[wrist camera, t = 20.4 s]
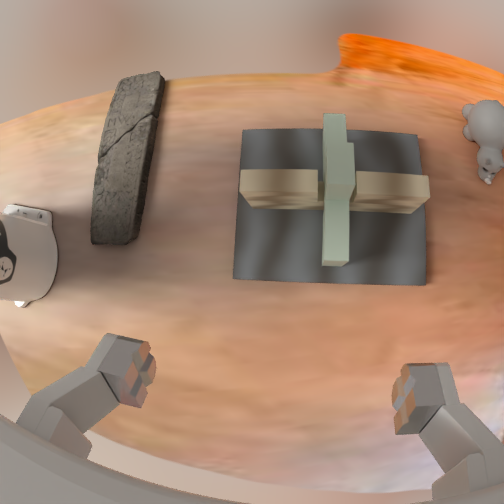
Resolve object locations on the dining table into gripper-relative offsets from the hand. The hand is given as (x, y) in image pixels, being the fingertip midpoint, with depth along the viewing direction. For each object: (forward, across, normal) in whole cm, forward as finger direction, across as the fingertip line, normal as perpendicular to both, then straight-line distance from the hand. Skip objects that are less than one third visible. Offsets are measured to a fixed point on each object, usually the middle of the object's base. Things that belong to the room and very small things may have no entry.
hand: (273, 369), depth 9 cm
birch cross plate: (+32, -4, +9) cm, 34 cm away
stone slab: (+39, +27, +4) cm, 48 cm away
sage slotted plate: (+31, -4, +8) cm, 32 cm away
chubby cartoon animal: (+38, -27, 0) cm, 47 cm away
